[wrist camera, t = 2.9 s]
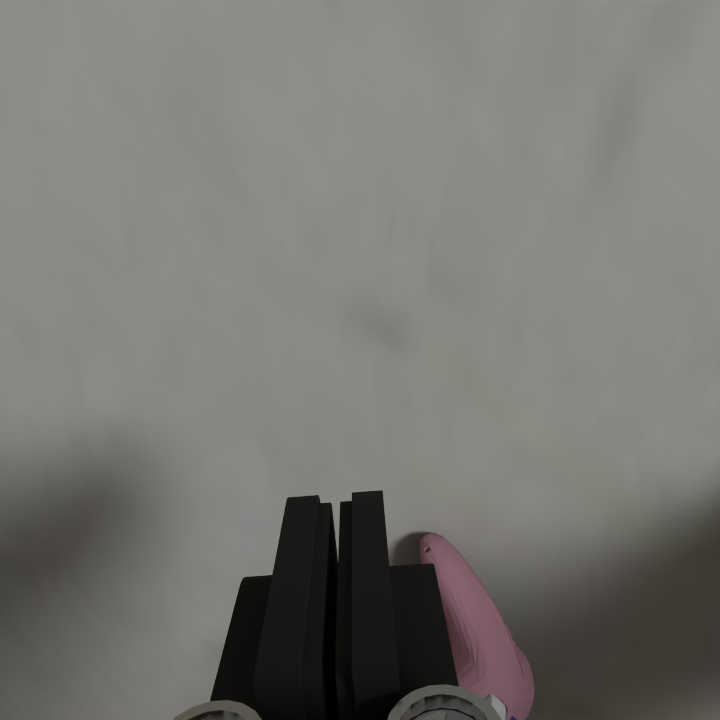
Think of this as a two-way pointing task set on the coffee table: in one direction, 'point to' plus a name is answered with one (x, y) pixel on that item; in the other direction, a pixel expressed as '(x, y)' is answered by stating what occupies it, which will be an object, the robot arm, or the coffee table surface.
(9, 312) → the coffee table surface
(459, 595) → the video game controller
